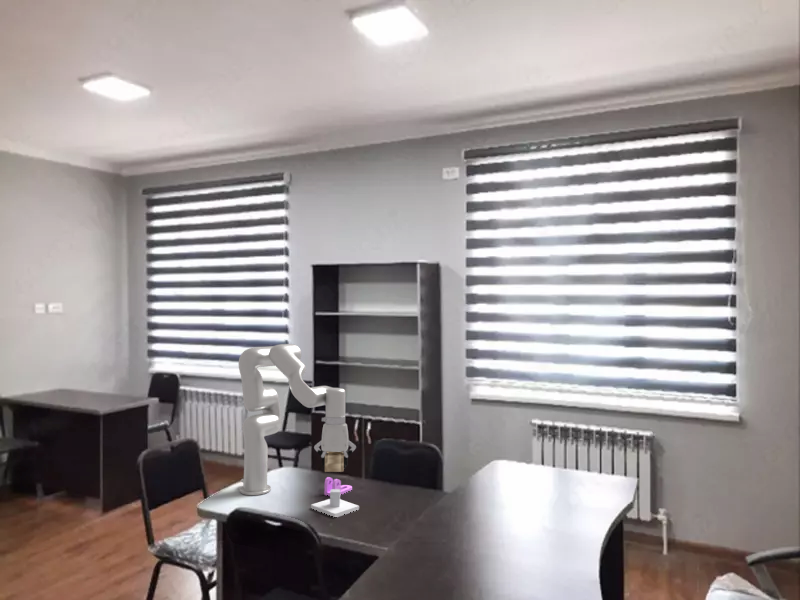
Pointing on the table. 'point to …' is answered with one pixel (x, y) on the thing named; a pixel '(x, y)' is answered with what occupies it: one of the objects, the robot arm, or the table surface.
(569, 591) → the table surface
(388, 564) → the table surface
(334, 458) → the wooden collar
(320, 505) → the plate
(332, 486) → the bracket
